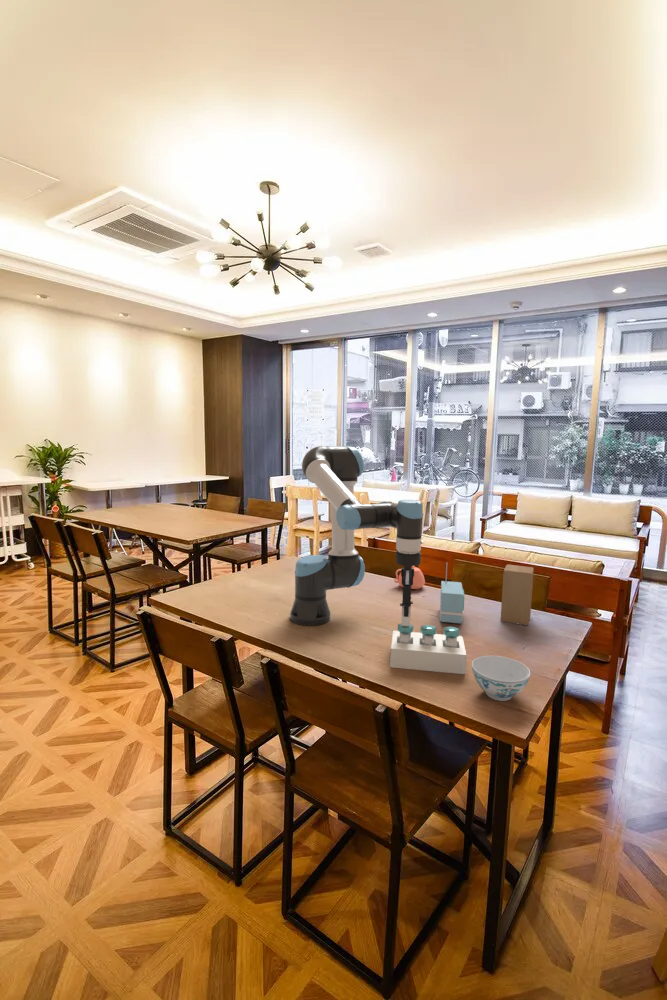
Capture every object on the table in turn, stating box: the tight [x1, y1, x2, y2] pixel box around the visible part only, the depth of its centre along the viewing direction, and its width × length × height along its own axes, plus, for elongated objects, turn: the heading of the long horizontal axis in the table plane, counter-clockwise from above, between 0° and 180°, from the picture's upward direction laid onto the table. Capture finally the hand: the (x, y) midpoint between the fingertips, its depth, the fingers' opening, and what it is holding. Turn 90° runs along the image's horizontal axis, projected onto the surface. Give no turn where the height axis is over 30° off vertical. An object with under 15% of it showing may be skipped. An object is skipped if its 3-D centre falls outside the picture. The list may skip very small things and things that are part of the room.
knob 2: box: [443, 626, 461, 648], centre depth 155 cm, size 5×5×9 cm
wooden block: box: [500, 564, 535, 626], centre depth 192 cm, size 10×10×20 cm
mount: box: [389, 630, 467, 675], centre depth 156 cm, size 22×14×6 cm, turn 80°
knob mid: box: [419, 624, 437, 646], centre depth 156 cm, size 5×5×9 cm
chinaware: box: [471, 655, 531, 702], centre depth 136 cm, size 15×15×8 cm
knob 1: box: [397, 622, 414, 644], centre depth 157 cm, size 5×5×9 cm
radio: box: [439, 562, 465, 624], centre depth 193 cm, size 16×9×20 cm, turn 168°
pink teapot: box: [393, 566, 426, 590], centre depth 230 cm, size 12×14×10 cm
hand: (405, 625), depth 156 cm, fingers closed
